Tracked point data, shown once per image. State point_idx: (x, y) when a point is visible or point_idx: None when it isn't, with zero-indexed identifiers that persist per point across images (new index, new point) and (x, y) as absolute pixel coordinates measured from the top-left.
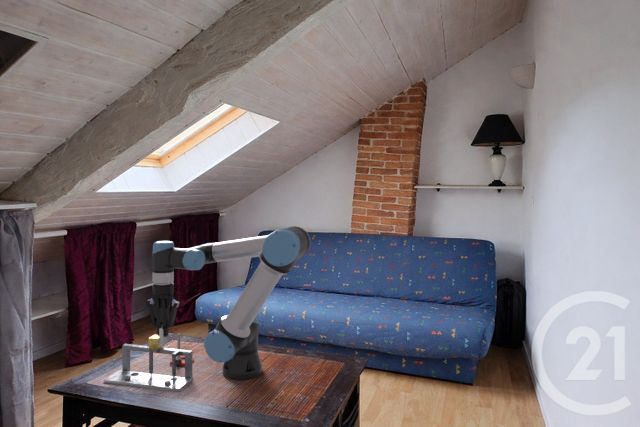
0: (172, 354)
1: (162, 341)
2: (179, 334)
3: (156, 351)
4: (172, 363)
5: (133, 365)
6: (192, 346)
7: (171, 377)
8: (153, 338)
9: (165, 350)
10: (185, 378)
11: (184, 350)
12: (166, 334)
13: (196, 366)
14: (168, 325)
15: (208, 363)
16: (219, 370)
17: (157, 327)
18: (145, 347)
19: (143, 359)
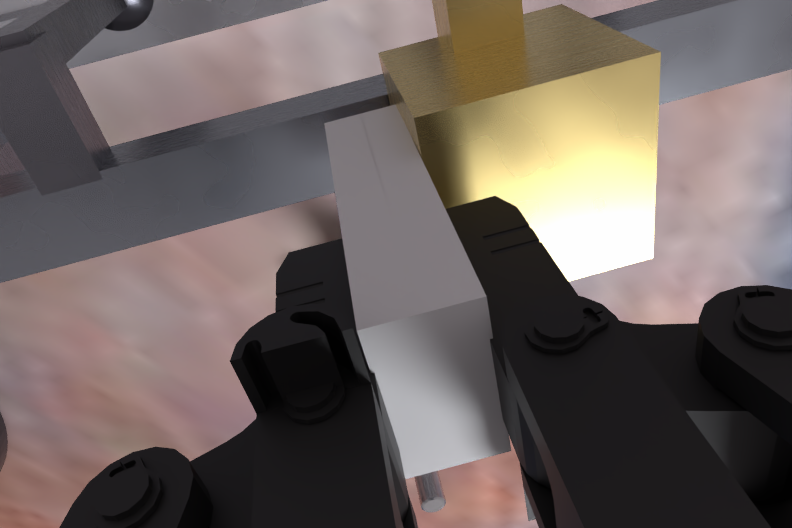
0: (22, 44)
1: (337, 156)
2: (422, 498)
3: None
4: (60, 4)
5: None
6: (510, 494)
7: (167, 4)
8: (537, 92)
9: (282, 119)
10: None
11: (9, 254)
12: (279, 287)
13: (231, 318)
14: (123, 505)
15: (197, 393)
16: (4, 357)
17: (564, 299)
18: (648, 41)
19: (710, 206)
